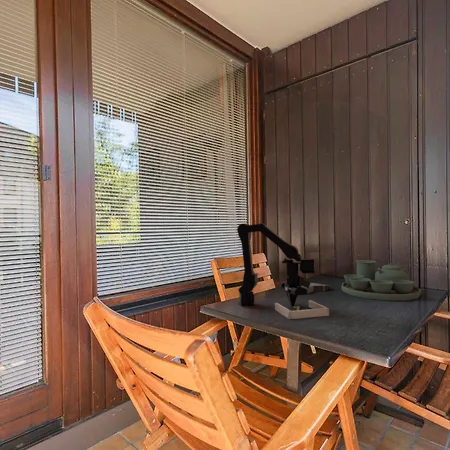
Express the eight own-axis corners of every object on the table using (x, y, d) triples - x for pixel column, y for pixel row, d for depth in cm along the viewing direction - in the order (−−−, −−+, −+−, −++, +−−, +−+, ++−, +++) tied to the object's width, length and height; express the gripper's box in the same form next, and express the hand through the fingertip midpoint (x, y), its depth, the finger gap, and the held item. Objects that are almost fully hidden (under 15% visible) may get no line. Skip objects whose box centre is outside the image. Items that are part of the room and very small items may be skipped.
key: (299, 309, 141) (299, 305, 141) (307, 318, 129) (307, 313, 129) (283, 310, 141) (283, 305, 141) (290, 318, 129) (290, 313, 129)
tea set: (328, 292, 176) (327, 263, 176) (364, 283, 201) (363, 258, 201) (401, 306, 145) (401, 271, 145) (433, 293, 169) (433, 264, 169)
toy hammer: (288, 277, 205) (331, 283, 185) (288, 283, 205) (331, 289, 185) (267, 283, 188) (311, 289, 167) (267, 289, 188) (312, 296, 167)
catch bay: (289, 319, 126) (289, 311, 126) (274, 309, 141) (274, 303, 141) (329, 315, 130) (329, 308, 130) (311, 306, 145) (311, 300, 145)
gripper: (318, 275, 136) (318, 310, 136) (298, 269, 154) (299, 300, 154) (295, 276, 134) (295, 312, 134) (278, 270, 152) (278, 301, 152)
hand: (292, 306), depth 143 cm, fingers closed
